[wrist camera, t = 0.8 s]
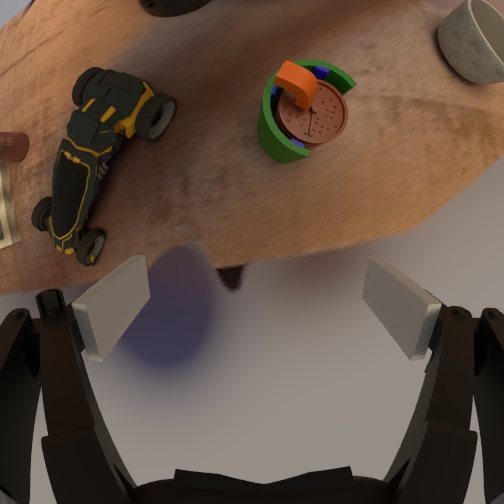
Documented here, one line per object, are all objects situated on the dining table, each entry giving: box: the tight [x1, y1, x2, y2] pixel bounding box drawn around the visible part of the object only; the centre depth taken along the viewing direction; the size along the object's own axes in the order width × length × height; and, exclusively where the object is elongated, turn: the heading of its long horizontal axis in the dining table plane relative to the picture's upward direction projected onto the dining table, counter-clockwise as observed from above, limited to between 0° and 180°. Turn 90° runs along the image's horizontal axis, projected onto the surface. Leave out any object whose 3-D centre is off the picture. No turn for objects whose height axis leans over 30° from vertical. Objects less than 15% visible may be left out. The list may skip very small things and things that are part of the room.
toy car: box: [31, 67, 177, 266], centre depth 34 cm, size 16×32×10 cm, turn 149°
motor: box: [258, 60, 357, 164], centre depth 27 cm, size 10×9×20 cm
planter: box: [438, 0, 504, 84], centre depth 23 cm, size 17×17×15 cm
